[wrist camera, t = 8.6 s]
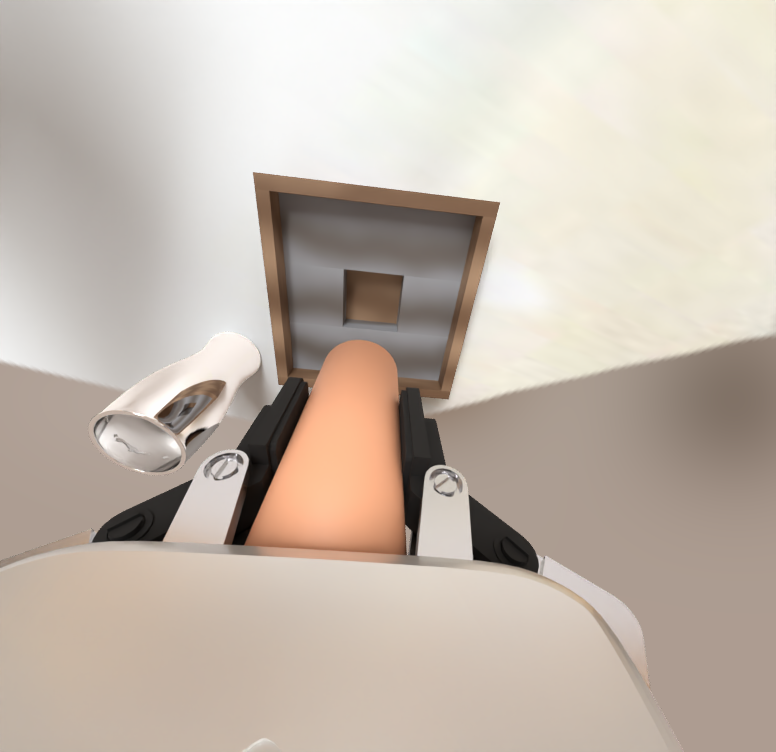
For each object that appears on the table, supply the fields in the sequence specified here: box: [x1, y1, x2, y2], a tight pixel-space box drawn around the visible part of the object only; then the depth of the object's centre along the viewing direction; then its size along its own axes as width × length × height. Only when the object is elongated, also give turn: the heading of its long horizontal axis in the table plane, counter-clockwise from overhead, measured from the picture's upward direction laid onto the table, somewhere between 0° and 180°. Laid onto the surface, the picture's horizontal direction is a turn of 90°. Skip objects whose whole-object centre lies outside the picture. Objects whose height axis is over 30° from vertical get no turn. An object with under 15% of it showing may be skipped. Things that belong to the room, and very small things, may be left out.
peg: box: [244, 340, 407, 555], centre depth 10 cm, size 4×4×12 cm
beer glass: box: [88, 332, 261, 475], centre depth 27 cm, size 7×7×15 cm
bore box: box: [253, 172, 500, 399], centre depth 27 cm, size 18×18×6 cm
